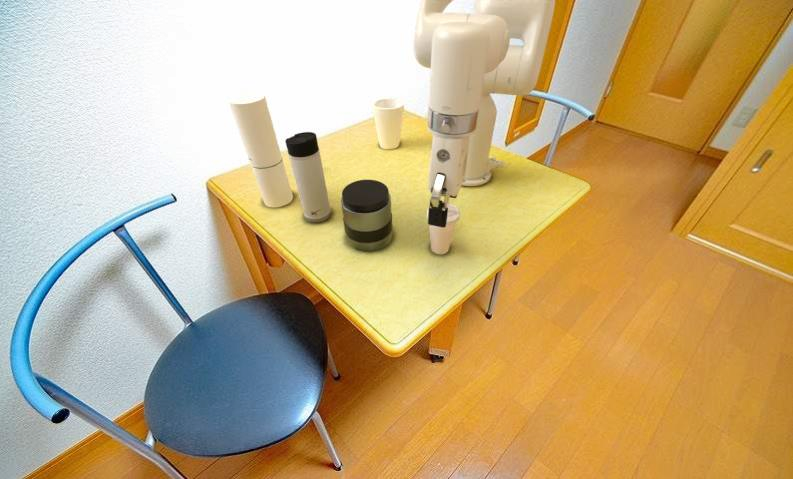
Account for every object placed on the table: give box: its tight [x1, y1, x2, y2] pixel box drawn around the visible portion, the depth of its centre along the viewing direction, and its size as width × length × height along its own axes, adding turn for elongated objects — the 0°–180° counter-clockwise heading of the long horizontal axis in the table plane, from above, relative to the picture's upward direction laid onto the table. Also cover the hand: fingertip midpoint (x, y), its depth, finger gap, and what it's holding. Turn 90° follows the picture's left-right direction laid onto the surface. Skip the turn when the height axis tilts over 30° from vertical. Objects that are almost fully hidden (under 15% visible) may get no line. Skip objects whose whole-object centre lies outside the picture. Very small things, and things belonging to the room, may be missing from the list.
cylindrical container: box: [227, 91, 294, 208], centre depth 74 cm, size 7×7×25 cm
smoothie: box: [426, 195, 461, 255], centre depth 64 cm, size 6×6×14 cm
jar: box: [340, 179, 393, 252], centre depth 68 cm, size 10×10×12 cm
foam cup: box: [371, 97, 405, 150], centre depth 100 cm, size 10×9×13 cm
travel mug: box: [285, 131, 332, 224], centre depth 71 cm, size 6×7×20 cm
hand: (443, 210), depth 61 cm, fingers open, 9 cm apart
